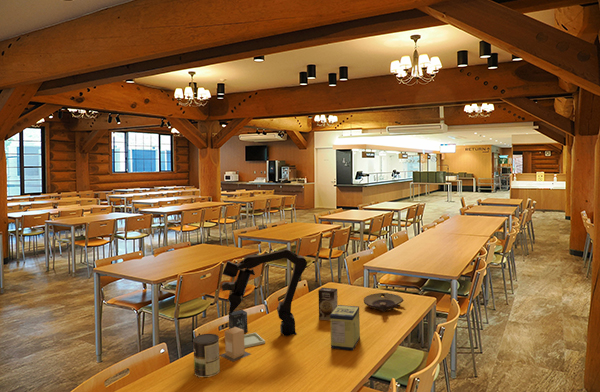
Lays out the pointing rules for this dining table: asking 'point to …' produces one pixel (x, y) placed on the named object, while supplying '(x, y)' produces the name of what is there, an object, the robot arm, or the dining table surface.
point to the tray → (253, 340)
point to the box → (238, 320)
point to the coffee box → (327, 302)
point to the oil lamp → (383, 301)
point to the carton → (234, 342)
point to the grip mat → (235, 358)
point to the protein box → (345, 327)
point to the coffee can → (206, 355)
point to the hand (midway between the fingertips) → (231, 310)
